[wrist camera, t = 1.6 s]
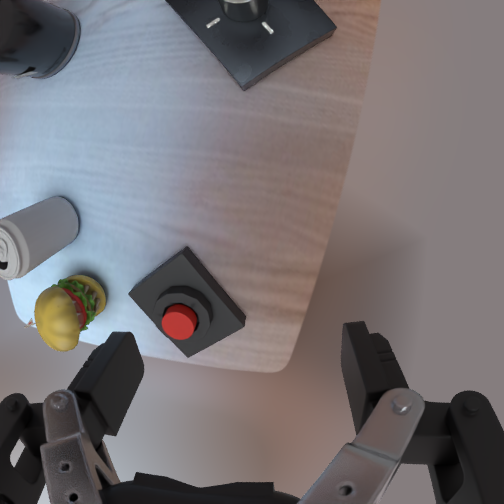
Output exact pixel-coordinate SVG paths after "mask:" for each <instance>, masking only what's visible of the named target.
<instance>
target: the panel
mask: <svg viewBox="0 0 504 504" xmlns="http://www.w3.org/2000/svg"><path fill="white" fill-rule="evenodd" d="M165 1H166V2H167V3H168V4H169V5H170V6H171V7H172V8H173V9H174V10H175V11H176V12H177V13H178V15H179V16H180V17H181V18H182V19H183V20H184V21H185V22H186V23H187V24H188V25H189V27H190V28H191V29H192V30H193V31H194V32H195V33H196V34H197V35H198V37H199V38H200V39H201V40H202V41H203V42H204V43H205V45H206V46H207V47H208V48H209V49H210V50H211V52H212V53H213V54H214V55H215V56H216V57H217V59H218V60H219V61H220V62H221V63H222V64H223V66H224V67H225V68H226V69H227V70H228V72H229V73H230V74H231V75H232V77H233V78H234V79H235V80H236V81H237V83H238V84H239V85H240V86H241V88H242V89H243V90H244V91H245V90H246V89H248V88H249V87H250V86H252V85H253V84H255V83H256V82H258V81H259V80H261V79H262V78H264V77H265V76H267V75H268V74H270V73H271V72H273V71H274V70H276V69H277V68H279V67H280V66H282V65H284V64H285V63H287V62H288V61H290V60H291V59H293V58H295V57H296V56H298V55H300V54H301V53H303V52H304V51H306V50H308V49H309V48H311V47H313V46H315V45H316V44H318V43H320V42H321V41H323V40H325V39H327V38H328V37H330V36H332V34H333V33H334V31H335V30H336V28H337V27H336V25H335V24H334V23H333V22H332V21H331V20H330V18H329V17H328V16H327V15H326V14H325V13H324V11H323V10H322V9H321V8H320V7H319V6H318V5H317V4H316V2H315V1H314V0H268V7H267V10H266V11H265V13H264V14H263V15H262V16H260V17H259V18H257V19H255V20H252V21H247V22H240V21H235V20H232V19H230V18H229V17H227V16H226V15H225V14H224V12H223V10H222V8H221V6H220V4H219V2H218V0H165Z"/></svg>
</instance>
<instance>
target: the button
mask: <svg viewBox="0 0 504 504" xmlns="http://www.w3.org/2000/svg"><path fill="white" fill-rule="evenodd" d="M196 324H197V317H196V314H195V313H194V311H193V310H192V309H191V308H189V307H188V306H185V305H182V304H175V305H172V306H170V307H169V308H168V310H167V311H166V313H165V315H164V317H163V319H162V327H163V330H164V331H165V332H166V334H168V335H169V336H170V337H172V338H174V339H178V340H183V339H187V338H189V337H190V336H191V335H192V334H193V332H194V329H195V327H196Z"/></svg>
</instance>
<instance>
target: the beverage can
mask: <svg viewBox="0 0 504 504" xmlns="http://www.w3.org/2000/svg"><path fill="white" fill-rule="evenodd" d="M77 233H78V218H77V214H76V212H75V210H74V208H73V206H72V205H71V204H70V203H69V202H68V201H67V200H66V199H64V198H61V197H51V198H49V199H46V200H44V201H41V202H39V203H36V204H34V205H32V206H29V207H27V208H25V209H22V210H20V211H18V212H15V213H13V214H11V215H9V216H6V217H4V218H2V219H0V277H1V278H3V279H5V280H12V279H14V278H21V277H23V276H24V275H26V274H27V273H28V272H30V271H31V270H33V269H34V268H35V267H37V266H38V265H40V264H41V263H43V262H44V261H45V260H47V259H48V258H50V257H51V256H53V255H54V254H56V253H57V252H59V251H60V250H62V249H63V248H65V247H66V246H68V245H69V244H70V243H72V242H73V241H74V239H75V238H76V236H77Z"/></svg>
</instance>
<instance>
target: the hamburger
mask: <svg viewBox="0 0 504 504" xmlns="http://www.w3.org/2000/svg"><path fill="white" fill-rule="evenodd" d="M105 305H106V296H105V292H104V290H103V288H102V287H101V285H100V284H99V283H98V282H97V281H95V280H94V279H92V278H90V277H88V276H84V275H72V276H69V277H67V278H66V279H62V280H61V279H60V280H59V282H58V284H57V285H55V284H53V285H52V286H51V287H49V288H47V289H46V290H44V291H43V292H42V293H41V294H40V295H39V297H38V299H37V300H36V305H35V311H34V312H35V322H36V323H34V324H36V326H37V329H38V332H39V334H40V336H41V337H42V339H43V340H44V341H45V343H46V344H47V345H48V346H50V347H51V348H53V349H54V350H57V351H69V350H72V349H74V348H75V346H76V345H77V344H78V340H79V334H80V332H81V331H83V330H86V329H88V328H87V327H86V325H88V324H89V323H90V322H91V321H93V320H94V317H95V316H97V315H98V314H100V313H101V312H102V311H103V310H104V308H105ZM34 324H33V321H32V318H31V320H30V321H29V322H28V324H27V325H26V327H25V328H27V327H29V326H31V325H34Z"/></svg>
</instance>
